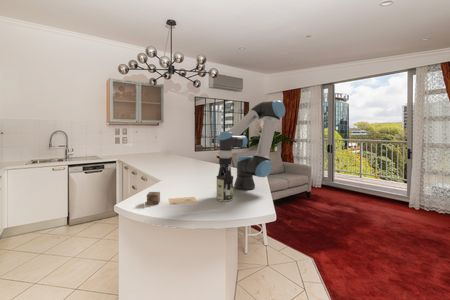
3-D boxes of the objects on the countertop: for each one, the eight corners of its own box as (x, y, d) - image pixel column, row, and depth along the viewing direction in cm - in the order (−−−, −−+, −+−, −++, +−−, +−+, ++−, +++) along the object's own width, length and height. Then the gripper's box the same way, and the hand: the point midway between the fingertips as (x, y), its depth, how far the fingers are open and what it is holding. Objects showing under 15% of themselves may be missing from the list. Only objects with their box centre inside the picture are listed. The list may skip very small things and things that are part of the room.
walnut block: (160, 202, 136) (159, 191, 135) (158, 205, 130) (157, 194, 130) (149, 202, 135) (149, 191, 135) (146, 205, 129) (146, 194, 129)
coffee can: (234, 197, 148) (234, 175, 147) (231, 202, 138) (231, 178, 137) (218, 196, 150) (218, 174, 149) (214, 200, 140) (214, 177, 139)
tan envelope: (194, 197, 146) (194, 196, 146) (198, 203, 135) (198, 202, 135) (168, 199, 141) (168, 198, 141) (169, 205, 130) (169, 204, 130)
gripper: (213, 155, 152) (212, 187, 154) (226, 160, 129) (224, 198, 130) (224, 155, 155) (223, 186, 156) (238, 159, 131) (237, 197, 133)
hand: (224, 192), depth 143 cm, fingers open, 13 cm apart
